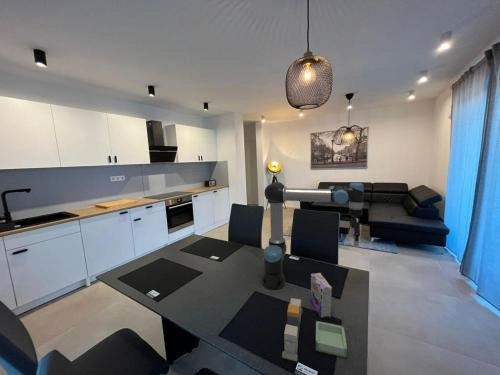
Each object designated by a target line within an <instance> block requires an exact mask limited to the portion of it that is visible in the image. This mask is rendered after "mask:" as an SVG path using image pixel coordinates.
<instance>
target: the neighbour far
mask: <svg viewBox="0 0 500 375" xmlns="http://www.w3.org/2000/svg"><path fill="white" fill-rule="evenodd" d="M289 304H290V305H296V306H300V321H302V320H301V317H302V314H301V308H302V299H299V298H294V297H291V298H290V301H289Z"/></svg>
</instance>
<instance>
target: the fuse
mask: <svg viewBox="0 0 500 375" xmlns="http://www.w3.org/2000/svg"><path fill="white" fill-rule="evenodd" d="M286 313H287V316H286V317H287V318H286V319H287V322H286V324H287V325H288V324H289V325H293V326H297V327H298V339H299V336H300V325H301V320H300V306H296V305H290V303H288V307H287V311H286Z"/></svg>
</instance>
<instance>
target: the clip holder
mask: <svg viewBox="0 0 500 375" xmlns="http://www.w3.org/2000/svg"><path fill="white" fill-rule="evenodd" d="M302 314H303V308H302V307H301V315H302ZM288 325H289V324H288ZM292 326H293V325H292ZM281 354H282V355H281V358H282V359H285V360H289V361H293V362H297V363H298V354H297V355H296V354H295V343H292V342H288V341H285V351H284V350H283V351H282V352H281Z"/></svg>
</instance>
